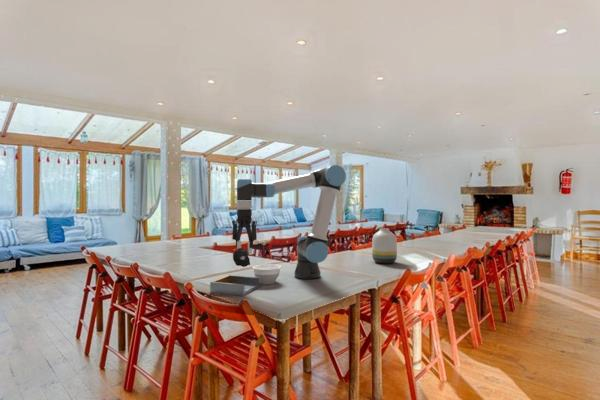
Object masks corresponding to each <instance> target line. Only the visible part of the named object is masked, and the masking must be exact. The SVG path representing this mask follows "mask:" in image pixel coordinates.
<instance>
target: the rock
mask: <svg viewBox="0 0 600 400" xmlns="http://www.w3.org/2000/svg"><path fill="white" fill-rule="evenodd" d="M232 260H233V262H234V264H235V266H238V267H243V268H244V267H247V266H251V262H250V258H249V255H248V250H246V249H245V248H244V247H241V248H239V249H237V248H236V250H235V251H234V252H233V254H232Z"/></svg>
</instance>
